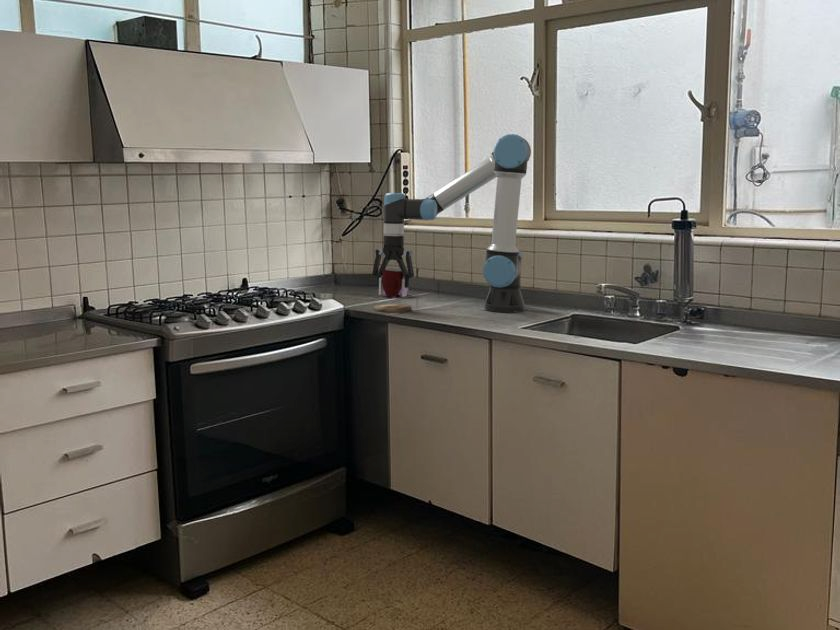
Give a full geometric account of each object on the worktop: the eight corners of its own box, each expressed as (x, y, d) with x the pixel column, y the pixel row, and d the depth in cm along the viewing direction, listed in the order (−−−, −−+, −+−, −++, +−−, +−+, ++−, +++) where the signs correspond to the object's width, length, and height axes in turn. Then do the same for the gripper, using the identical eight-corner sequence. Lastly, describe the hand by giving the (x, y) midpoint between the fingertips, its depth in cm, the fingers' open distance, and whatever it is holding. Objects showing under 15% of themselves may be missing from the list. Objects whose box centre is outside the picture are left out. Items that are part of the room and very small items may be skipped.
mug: (410, 298, 322) (412, 272, 320) (392, 299, 317) (394, 272, 315) (393, 293, 330) (395, 267, 328) (376, 294, 325) (378, 268, 323)
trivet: (417, 308, 328) (417, 305, 328) (403, 313, 315) (403, 310, 315) (383, 306, 333) (383, 302, 333) (368, 310, 320) (368, 307, 320)
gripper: (424, 235, 320) (422, 296, 323) (371, 233, 327) (370, 292, 331) (416, 236, 313) (415, 298, 316) (363, 234, 320) (362, 294, 324)
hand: (392, 295), depth 324 cm, fingers closed on mug, 9 cm apart
